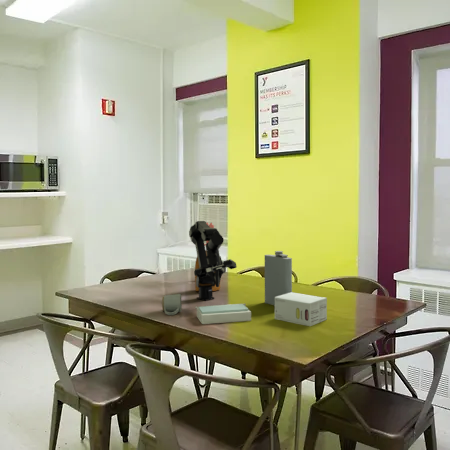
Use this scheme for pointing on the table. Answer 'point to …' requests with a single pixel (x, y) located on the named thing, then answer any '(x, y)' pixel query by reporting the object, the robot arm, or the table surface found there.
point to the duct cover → (222, 308)
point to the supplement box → (300, 308)
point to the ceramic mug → (171, 304)
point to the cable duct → (223, 317)
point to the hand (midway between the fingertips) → (217, 286)
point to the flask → (277, 276)
